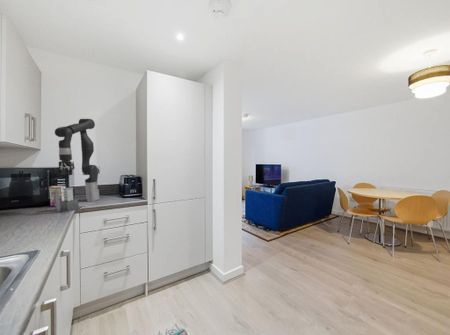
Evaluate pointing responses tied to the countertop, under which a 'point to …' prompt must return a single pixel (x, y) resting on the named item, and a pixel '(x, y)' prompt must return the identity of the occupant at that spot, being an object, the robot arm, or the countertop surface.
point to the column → (68, 194)
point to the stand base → (69, 206)
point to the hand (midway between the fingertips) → (67, 174)
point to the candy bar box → (51, 192)
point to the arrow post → (57, 201)
